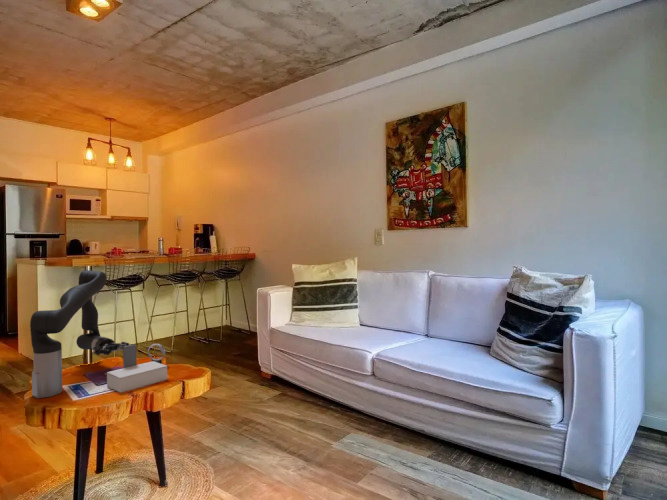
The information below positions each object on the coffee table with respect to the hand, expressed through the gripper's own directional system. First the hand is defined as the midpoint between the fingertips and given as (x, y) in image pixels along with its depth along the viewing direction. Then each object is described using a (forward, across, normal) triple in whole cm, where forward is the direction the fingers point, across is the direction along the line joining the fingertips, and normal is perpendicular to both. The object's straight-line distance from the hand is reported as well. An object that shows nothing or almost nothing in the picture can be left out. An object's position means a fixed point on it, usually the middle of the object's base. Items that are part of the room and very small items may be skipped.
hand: (118, 350), depth 185 cm
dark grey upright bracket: (+17, 0, +10) cm, 20 cm away
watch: (+2, +17, +11) cm, 21 cm away
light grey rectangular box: (+18, 0, +11) cm, 21 cm away
